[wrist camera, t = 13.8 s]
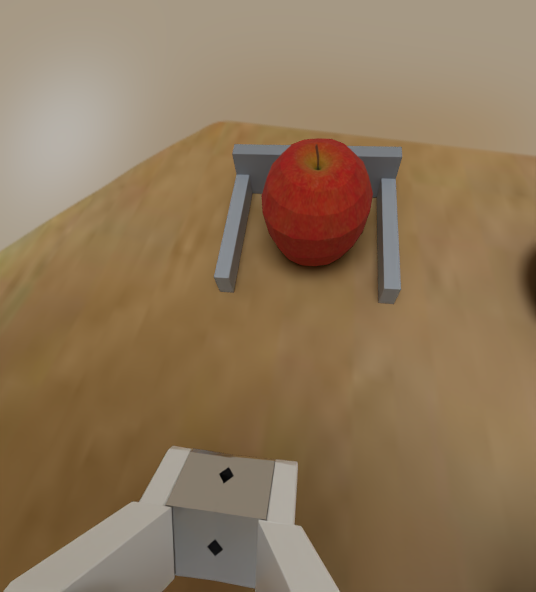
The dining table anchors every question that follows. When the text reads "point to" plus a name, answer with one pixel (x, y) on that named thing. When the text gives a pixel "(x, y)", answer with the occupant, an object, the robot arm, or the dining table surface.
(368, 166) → the frame
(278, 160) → the apple
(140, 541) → the robot arm
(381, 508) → the dining table surface
